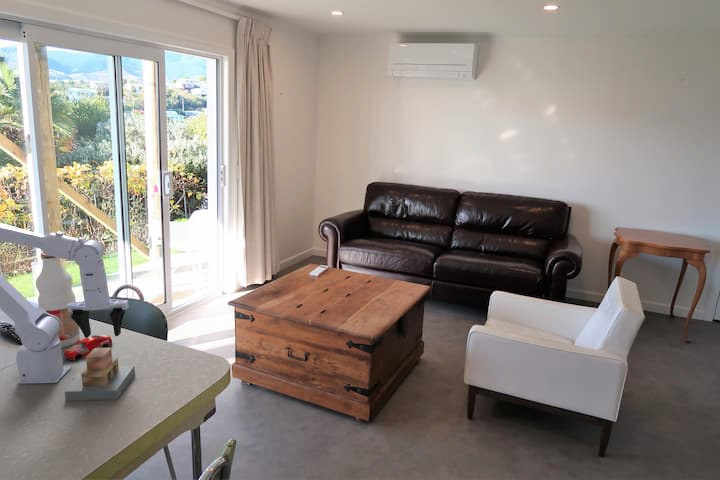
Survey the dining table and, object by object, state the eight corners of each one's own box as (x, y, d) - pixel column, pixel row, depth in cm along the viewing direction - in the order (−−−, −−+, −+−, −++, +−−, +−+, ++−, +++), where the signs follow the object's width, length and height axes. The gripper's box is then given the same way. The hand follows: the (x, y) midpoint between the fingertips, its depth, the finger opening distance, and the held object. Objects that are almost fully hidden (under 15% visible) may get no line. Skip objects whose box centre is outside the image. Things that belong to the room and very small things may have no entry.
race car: (70, 364, 135) (68, 351, 134) (60, 358, 138) (58, 345, 137) (115, 346, 146) (114, 334, 145) (105, 341, 149) (103, 329, 148)
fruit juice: (83, 343, 147) (72, 254, 140) (46, 352, 141) (33, 259, 134) (77, 332, 154) (66, 246, 147) (42, 340, 148) (29, 251, 141)
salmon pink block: (87, 370, 120) (85, 357, 120) (96, 360, 125) (94, 347, 124) (104, 369, 121) (102, 357, 120) (112, 360, 126) (111, 347, 125)
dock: (65, 400, 118) (64, 391, 117) (88, 375, 130) (87, 366, 129) (117, 399, 119) (116, 390, 118) (135, 374, 131) (134, 365, 130)
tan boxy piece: (82, 386, 120) (81, 373, 119) (96, 369, 127) (95, 357, 127) (106, 385, 120) (104, 373, 119) (118, 369, 128) (117, 357, 127)
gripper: (129, 280, 130) (136, 327, 134) (73, 282, 129) (81, 330, 133) (119, 289, 123) (127, 339, 127) (59, 292, 122) (68, 341, 126)
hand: (103, 335), depth 129 cm, fingers open, 7 cm apart
